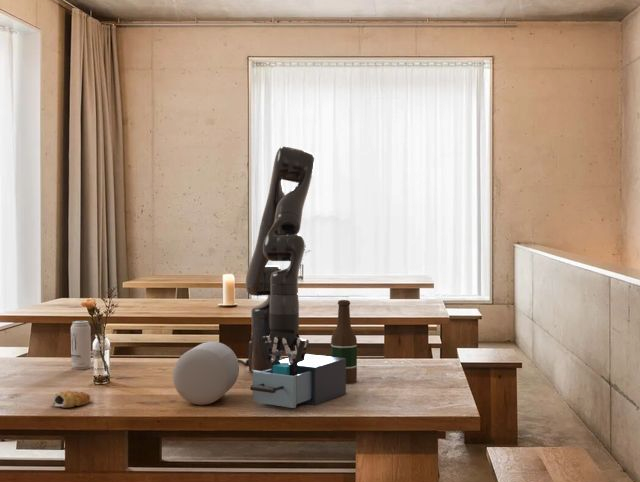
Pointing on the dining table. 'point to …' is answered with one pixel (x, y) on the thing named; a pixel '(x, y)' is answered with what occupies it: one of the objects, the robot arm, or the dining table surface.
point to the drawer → (282, 388)
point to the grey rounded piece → (205, 373)
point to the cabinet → (324, 376)
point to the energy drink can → (80, 345)
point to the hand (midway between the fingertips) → (284, 376)
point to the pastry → (70, 399)
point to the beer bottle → (345, 341)
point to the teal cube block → (281, 368)
